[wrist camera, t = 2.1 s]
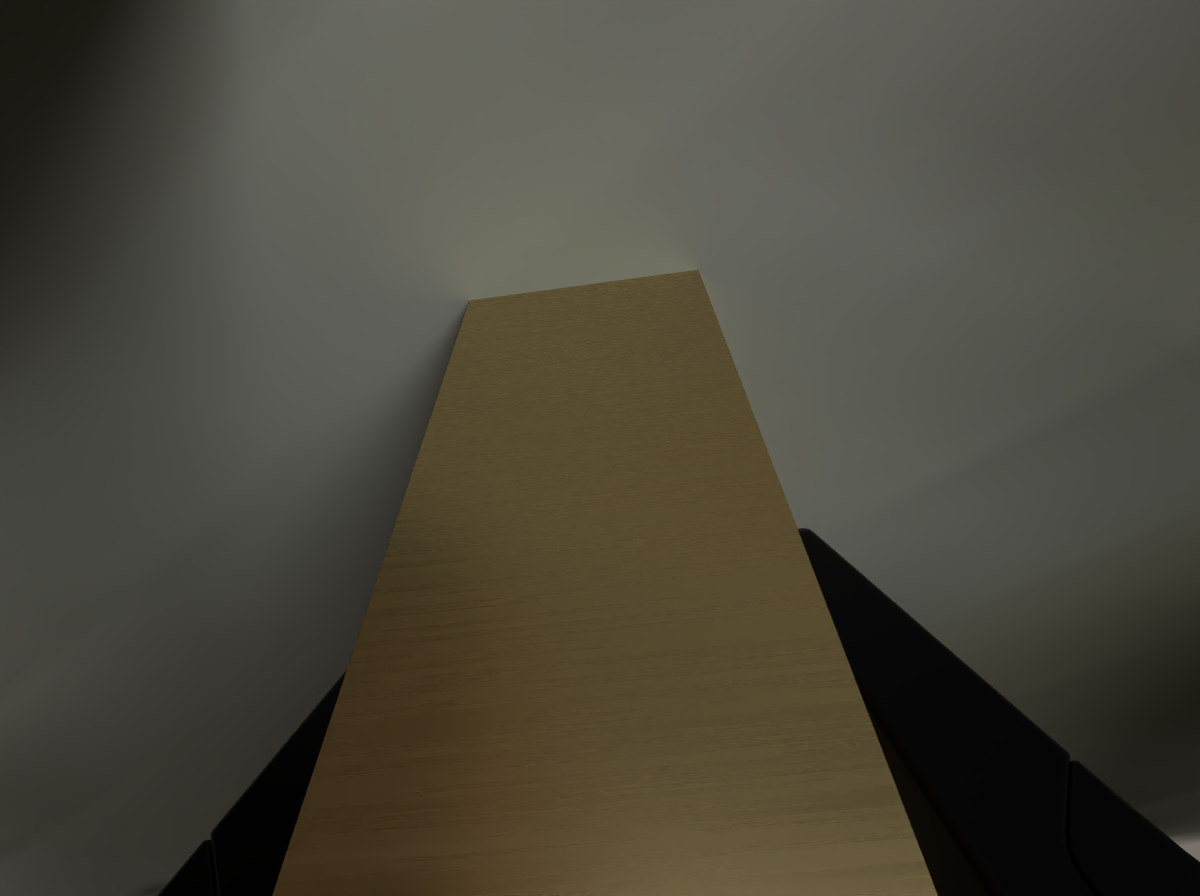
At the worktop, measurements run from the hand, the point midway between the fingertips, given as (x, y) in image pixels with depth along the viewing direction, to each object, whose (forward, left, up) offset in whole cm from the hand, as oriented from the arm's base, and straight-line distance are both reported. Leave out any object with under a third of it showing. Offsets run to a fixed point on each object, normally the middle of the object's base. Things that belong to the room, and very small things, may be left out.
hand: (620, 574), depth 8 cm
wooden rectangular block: (0, 0, -2) cm, 2 cm away
